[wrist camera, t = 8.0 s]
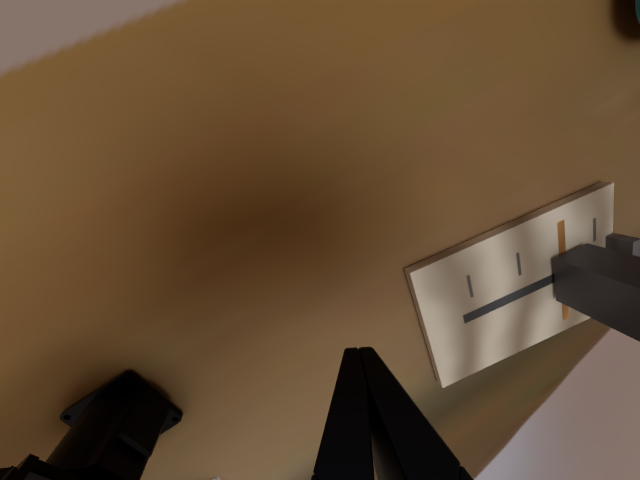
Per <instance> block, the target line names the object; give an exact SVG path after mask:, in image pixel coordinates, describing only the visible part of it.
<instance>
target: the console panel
mask: <svg viewBox="0 0 640 480" xmlns="http://www.w3.org/2000/svg"><path fill="white" fill-rule="evenodd" d="M613 202H614V183H611V182H599V183H597V184H594V185H592V186H590V187H588V188H585V189H583V190H581V191H578V192H576V193H574V194H572V195H569V196H567V197H565V198H563V199H560V200H558V201H556V202H554V203H551V204H549V205H547V206H545V207H542V208H540V209H538V210H536V211H533V212H531V213H529V214H526V215H524V216H522V217H520V218H517V219H515V220H513V221H511V222H508V223H506V224H504V225H502V226H499V227H497V228H495V229H493V230H490V231H488V232H486V233H484V234H481V235H479V236H477V237H474V238H472V239H470V240H468V241H465V242H463V243H461V244H459V245H456V246H454V247H452V248H450V249H447V250H445V251H443V252H441V253H438V254H436V255H434V256H432V257H429V258H427V259H425V260H422V261H420V262H418V263H416V264H413V265H411V266H409V267H407V268H404V270H405V274H406V277H407V281H408V284H409V287H410V291H411V294H412V298H413V301H414V304H415V308H416V311H417V315H418V318H419V321H420V325H421V328H422V332H423V335H424V338H425V342H426V345H427V349H428V352H429V355H430V359H431V362H432V366H433V369H434V372H435V376H436V379H437V381H438V382H439V384H440V385H441V386H442V388H444V387H446V386H448V385H450V384H452V383H454V382H456V381H459V380H461V379H463V378H465V377H467V376H469V375H471V374H473V373H475V372H477V371H480V370H482V369H484V368H486V367H488V366H490V365H492V364H494V363H496V362H499V361H501V360H503V359H505V358H507V357H509V356H511V355H513V354H515V353H517V352H520V351H522V350H524V349H526V348H528V347H530V346H532V345H534V344H536V343H538V342H541V341H543V340H545V339H547V338H549V337H551V336H553V335H555V334H557V333H560V332H562V331H564V330H566V329H568V328H570V327H572V326H574V325H576V324H578V323H581V322H583V321H585V320H587V319H589V318H591V317H589V316H587V315H585V314H582V313H580V312H578V311H576V310H574V309H572V308H570V307H568V306H566V305H564V304H562V303H560V302H558V301H556V293H555V278H554V263H553V258H556V257H558V256H560V255H562V254H564V253H567V252H569V251H571V250H573V249H575V248H577V247H580V246H582V245H584V244H586V243H589V244H592V245H596V246H600V247H604V248H608V249H612V250H615V251H619V252H623V253H627V254H631V255H635V256H638V257H640V238H635V237H630V236H626V235H621V234H616V233H613Z"/></svg>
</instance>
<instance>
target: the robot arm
mask: <svg viewBox="0 0 640 480" xmlns="http://www.w3.org/2000/svg"><path fill="white" fill-rule="evenodd" d="M126 377H128V378H126ZM182 416H183V413H182V412H181V411H180V410H178V409H177V408H176V407H175V406H174V405H172V404H171V403H170V402H169V401H168V400H166V399H165V398H164V397H163V396H162V395H160V394H159V393H158V392H157V391H156V390H154V389H153V388H152V387H151V386H150V385H148V384H147V383H146V382H145V381H144V380H142V379H141V378H140V377H139V376H138V375H137V374H135V373H134V372H132V371H125V372H123V373H122V374H120V375H119V376H117V377H115V378H114V379H112V380H111V381H109V382H108V383H106V384H104V385H103V386H101V387H100V388H98V389H97V390H95V391H93V392H92V393H90V394H89V395H87V396H86V397H84V398H82V399H81V400H79V401H78V402H76V403H75V404H73V405H71V406H70V407H68V408H67V409H65V410H64V411H63V413H62V414H61V415H60V420H61V421H63V422H64V423H66V424H67V425H69V426H70V427H71V428H70V429H69V431H68V432H67V433H66V435H65V436H64V437H63V439H62V440H61V441H60V443H59V444H58V445H57V447H56V448H55V450H54V451H53V452H52V454H51V455H50V456H49V458H48V459H47V460H46V462H44V461H41V460H38V459H39V457H37V456H35V455H32V454H29V455H28V456H27V457H26V458H25V459H24V460H23V461H22V462H21V463H20V464H19V465H18V466H17V467H14V466H11V467H9V468H1V469H0V480H140V479H141V476H142V474H143V471H144V469H145V466H146V464H147V461H148V459H149V457H150V456H151V455H152V453H153V450H154V448H155V445H156V443H157V440H158V438H159V435H160V434H162V433H163V432H165V431H167V430H168V429H170V428H171V427H173V426H174V425H176V424H177V423H179V422H180V421H181V419H182ZM373 461H374V465H375V469H376V473H377V477H378V480H473V479H472V477H471V476H470V475H469V474H468V472H467V471H466V470H465V468H464V467H463V466H461V467H460V462H459V461H458V459H457V458H456V457H455V455H454V454H453V453H452V451H451V450H450V449H449V447H448V446H447V445H446V443H445V442H444V441H443V439H442V438H441V437H440V436H439V434H438V433H437V432H436V430H435V429H434V428H433V426H432V425H431V424H430V422H429V421H428V420H427V418H426V417H425V416H424V414H423V413H422V412H421V411H420V409H419V408H418V407H417V405H416V404H415V403H414V401H413V400H412V399H411V397H410V396H409V395H408V393H407V392H406V391H405V389H404V388H403V387H402V386H401V384H400V383H399V382H398V380H397V379H396V378H395V376H394V375H393V374H392V372H391V371H390V370H389V368H388V367H387V366H386V364H385V363H384V362H383V360H382V359H381V358H380V357H379V355H378V354H377V353H376V351H375V350H374V349H373V348H372V347H360V348H359V350H358V348H346V349H345V350H344V354H343V358H342V362H341V365H340V369H339V373H338V377H337V381H336V385H335V389H334V393H333V397H332V401H331V404H330V408H329V412H328V416H327V420H326V424H325V428H324V432H323V436H322V439H321V443H320V447H319V451H318V455H317V459H316V463H315V467H314V471H313V474H314V475H312V478H311V480H374V468H373Z"/></svg>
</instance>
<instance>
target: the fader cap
mask: <svg viewBox="0 0 640 480" xmlns="http://www.w3.org/2000/svg"><path fill="white" fill-rule="evenodd" d="M553 263H554V278H555V293H556V301H558V302H560V303H562V304H564V305H566V306H568V307H570V308H572V309H574V310H576V311H578V312H580V313H582V314H585V315H587V316H589V317H591V318H593V319H595V320H597V321H599V322H601V323H603V324H605V325H607V326H609V327H611V328H613V329H615V330H617V331H619V332H621V333H623V334H625V335H627V336H629V337H631V338H634V339H636V340H638V341H640V257H638V256H635V255H631V254H627V253H623V252H619V251H615V250H612V249H608V248H604V247H600V246H596V245H592V244H589V243H586V244H584V245H582V246H580V247H577V248H575V249H573V250H571V251H569V252H567V253H564V254H562V255H560V256H558V257H556V258H553Z"/></svg>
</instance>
